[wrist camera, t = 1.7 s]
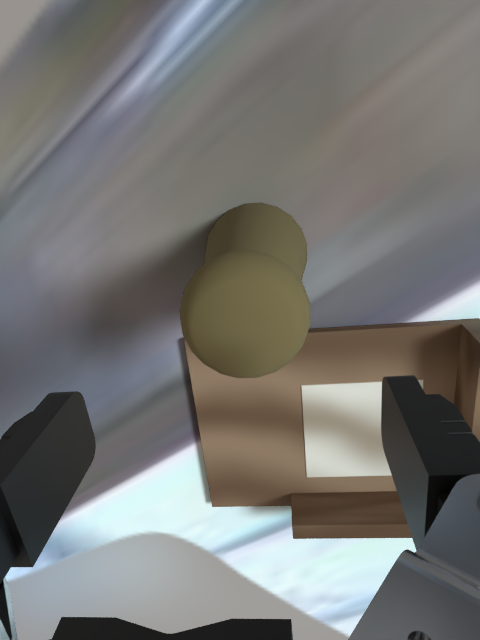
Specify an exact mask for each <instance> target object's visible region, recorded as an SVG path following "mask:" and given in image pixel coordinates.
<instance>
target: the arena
mask: <svg viewBox="0 0 480 640" xmlns="http://www.w3.org/2000/svg"><path fill="white" fill-rule="evenodd" d="M184 342H185V348H186V354H187V360H188V366H189V372H190V377H191V383H192V389H193V395H194V401H195V407H196V413H197V419H198V425H199V431H200V437H201V443H202V448H203V454H204V460H205V466H206V472H207V478H208V484H209V490H210V496H211V502H212V507H232V506H292V529H293V539H305V538H412V535H411V532H410V529H409V526H408V523H407V520H406V517H405V514H404V511H403V508H402V505H401V502H400V499H399V496H398V493H397V490H396V487H395V484H394V481H393V477H392V474H391V471H390V468H389V465H388V462H387V459H386V456H385V453H384V449H383V444H382V436H381V403H382V380H383V377H387V376H407V375H414V376H415V377H416V378H417V380H418V382H419V383H420V385H421V387H422V389H423V390H424V392H425V394H426V395H427V394H440V395H441V396H443V397H444V398H446V399H447V400H448V401H450V402H451V403H453V404H454V405H456V407H457V408H458V410H459V411H460V413H461V414H462V416H463V418H464V419H465V423H467V424H468V425H469V427H470V428H471V430H472V431H473V435H475V436H476V438H477V439H478V441H479V442H480V319H462V320H446V321H429V322H413V323H396V324H380V325H364V326H347V327H331V328H314V329H309V330H308V333H307V336H306V339H305V342H304V344H303V346H302V348H301V349H300V350H299V352H298V353H297V354H296V356H295V357H294V358H293V359H292V361H291V362H290V363H288V364H287V365H285V366H284V367H282V368H281V369H279V370H278V371H276V372H274V373H271V374H268V375H265V376H262V377H258V378H235V377H231V376H227V375H223V374H220V373H218V372H217V371H215V370H213V369H211V368H210V367H208V366H206V365H204V364H203V363H202V362H201V361H200V360H199V359H198V358H197V357H196V356H195V355H194V353H193V352H192V351H191V350H190V348H189V346H188V344H187V342H186V340H184Z"/></svg>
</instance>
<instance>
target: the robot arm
mask: <svg viewBox="0 0 480 640" xmlns="http://www.w3.org/2000/svg"><path fill="white" fill-rule="evenodd" d="M381 436H382V444H383V449H384V453H385V456H386V459H387V462H388V465H389V468H390V471H391V474H392V477H393V481H394V484H395V487H396V490H397V493H398V496H399V499H400V502H401V505H402V508H403V511H404V514H405V517H406V520H407V523H408V526H409V529H410V532H411V535H412V538H413V541H414V544H415V547H416V550H417V551H416V552H415V553H414V552H412V551H410V550H405V551H403V552H402V553H401V555H400V556H399V557H398V559H397V560H396V562H395V563H394V565H393V567H392V568H391V570H390V572H389V573H388V575H387V577H386V578H385V580H384V582H383V583H382V585H381V586H380V588H379V590H378V591H377V593H376V595H375V596H374V598H373V600H372V601H371V603H370V604H369V606H368V608H367V609H366V611H365V613H364V614H363V616H362V618H361V619H360V621H359V623H358V624H357V626H356V627H355V629H354V631H353V632H352V634H351V636H350V637H349V639H348V640H480V442H479V441H478V439H477V438H476V436H475V435H473V431H472V430H471V428H470V427H469V425H468V424H467V423H465V419H464V418H463V416H462V414H461V413H460V411H459V410H458V408H457V407H456V405H454V404H453V403H451V402H450V401H448V400H447V399H446V398H444V397H443V396H441V395H440V394H427V395H426V394H425V392H424V390H423V389H422V387H421V385H420V383H419V382H418V380H417V378H416V377H415V376H414V375H407V376H387V377H383V380H382V403H381ZM94 455H95V437H94V433H93V430H92V426H91V423H90V419H89V416H88V412H87V408H86V405H85V401H84V398H83V396H82V394H81V393H80V392H77V391H76V392H56V393H50V394H48V395H47V396H46V397H45V398H44V399H43V401H42V402H41V403H40V404H39V405H38V406H37V407H36V409H35V410H34V411H33V412H30V413H28V414H27V415H26V416H24V417H23V418H21V419H20V420H18V421H17V422H15V423H14V424H13V425H12V426H11V427H10V428H9V429H8V430H7V431H6V432H5V434H4V435H3V436H2V439H0V640H17V633H16V628H15V621H14V615H13V609H12V603H11V597H10V591H9V586H8V583H7V580H6V578H5V576H6V574H7V573H8V571H9V569H10V568H11V567H33V566H34V564H35V562H36V561H37V559H38V557H39V555H40V554H41V552H42V550H43V548H44V546H45V545H46V543H47V541H48V539H49V538H50V536H51V534H52V532H53V530H54V529H55V527H56V525H57V523H58V522H59V520H60V518H61V516H62V514H63V513H64V511H65V509H66V507H67V506H68V504H69V502H70V500H71V498H72V497H73V495H74V493H75V491H76V490H77V488H78V486H79V484H80V483H81V481H82V479H83V477H84V475H85V474H86V472H87V470H88V468H89V467H90V465H91V463H92V461H93V458H94ZM50 640H293V635H292V624H291V619H229V620H226V621H222V622H218V623H214V624H210V625H206V626H202V627H198V628H194V629H190V630H186V631H183V632H179V633H174V634H166V633H162V632H159V631H156V630H152V629H149V628H146V627H143V626H140V625H137V624H134V623H131V622H127V621H124V620H121V619H118V618H97V617H62V618H61V620H60V622H59V624H58V627H57V629H56V631H55V633H54V636H53V638H52V639H50Z"/></svg>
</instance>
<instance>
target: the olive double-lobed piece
mask: <svg viewBox="0 0 480 640" xmlns="http://www.w3.org/2000/svg"><path fill="white" fill-rule="evenodd" d="M306 262H307V243H306V240H305V237H304V235H303V232H302V229H301V228H300V226H299V225H298V224H297V223H296V221H295V220H294V219H293V218H292V216H290V215H289V214H287V213H286V212H284V211H283V210H281V209H280V208H278V207H275V206H272V205H268V204H264V203H250V204H243V205H240V206H238V207H236V208H233V209H231V210H229V211H228V212H226V213H225V214H224V215H223V216H222V217H221V218H219V219H218V220H217V221H216V223H215V225H214V226H213V228H212V230H211V231H210V233H209V235H208V240H207V245H206V249H205V260H204V265H203V266H202V267H200V268H199V269H198V270H197V271H196V272H195V274H194V275H193V277H192V279H191V280H190V282H189V284H188V285H187V287H186V289H185V290H184V292H183V297H182V302H181V307H180V318H181V326H182V333H183V336H184V338H185V340H186V342H187V344H188V346H189V348H190V350H191V351H192V352H193V353H194V355H195V356H196V357H197V358H198V359H199V360H200V361H201V362H202V363H203V364H204V365H206V366H208V367H210V368H211V369H213V370H215V371H217V372H218V373H220V374H223V375H227V376H231V377H235V378H258V377H262V376H265V375H268V374H271V373H274V372H276V371H278V370H279V369H281V368H282V367H284V366H285V365H287V364H288V363H290V362H291V361H292V359H293V358H294V357H295V356H296V354H297V353H298V352H299V350H300V349H301V348H302V346H303V344H304V342H305V339H306V336H307V333H308V330H309V327H310V303H309V299H308V296H307V294H306V291H305V288H304V286H303V283H302V281H301V280H302V277H303V273H304V269H305V266H306Z"/></svg>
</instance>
